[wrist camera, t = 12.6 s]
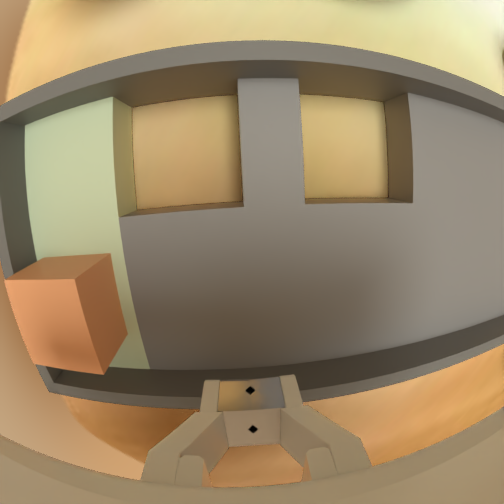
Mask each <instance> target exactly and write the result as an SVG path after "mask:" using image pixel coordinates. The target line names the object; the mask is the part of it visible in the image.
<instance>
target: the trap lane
mask: <svg viewBox="0 0 504 504" xmlns="http://www.w3.org/2000/svg"><path fill="white" fill-rule="evenodd" d="M299 94H309V95H326V96H338V97H349V98H358V99H366V100H373V101H380V102H384V108H385V118H386V131H387V149H388V198H310V199H305V190H304V162H303V141H302V123H301V108H300V95H299ZM222 95H237V98H238V118H239V139H240V158H241V178H242V196H243V201H239V202H223V203H209V204H196V205H184V206H172V207H162V208H151V209H142V210H137V203H136V192H135V180H134V165H133V144H132V107H137V106H143V105H148V104H154V103H160V102H167V101H174V100H182V99H190V98H199V97H210V96H222ZM104 253H111V259H112V265H113V270H114V275H115V281H116V286H117V290H118V295H119V300H120V304H121V309H122V313H123V317H124V321H125V325H126V329H127V333H128V335H127V336H126V338H125V340H124V341H123V343H122V345H121V346H120V348H119V350H118V351H117V353H116V355H115V357H114V358H113V360H112V362H111V363H110V365H109V367H108V369H107V370H106V372H105V374H104V375H102V374H93V373H86V372H78V371H72V370H65V369H59V368H54V367H48V366H43V365H38V364H36V367H37V369H38V371H39V373H40V375H41V377H42V379H43V381H44V383H45V385H46V387H47V389H48V391H49V392H52V393H57V394H61V395H66V396H71V397H76V398H81V399H87V400H93V401H99V402H106V403H114V404H122V405H131V406H142V407H156V408H175V409H200V406H201V399H202V392H203V386H204V382H205V380H221V379H256V378H268V377H279V376H285V375H293V374H294V375H295V377H296V380H297V384H298V388H299V391H300V395H301V398H302V402H309V401H316V400H322V399H328V398H334V397H339V396H344V395H350V394H354V393H359V392H364V391H368V390H372V389H377V388H381V387H385V386H389V385H392V384H396V383H400V382H403V381H407V380H410V379H414V378H417V377H420V376H423V375H426V374H429V373H432V372H435V371H438V370H441V369H444V368H447V367H450V366H452V365H455V364H458V363H460V362H463V361H465V360H468V359H470V358H473V357H475V356H477V355H480V354H482V353H484V352H487V351H489V350H491V349H493V348H495V347H497V346H500V345H502V344H504V97H503V96H501V95H499V94H497V93H495V92H493V91H491V90H489V89H487V88H485V87H483V86H480V85H478V84H476V83H474V82H471V81H469V80H466V79H464V78H461V77H459V76H456V75H454V74H451V73H448V72H446V71H443V70H440V69H437V68H434V67H431V66H428V65H424V64H421V63H418V62H414V61H411V60H407V59H403V58H400V57H396V56H391V55H387V54H383V53H378V52H373V51H368V50H363V49H357V48H351V47H345V46H337V45H330V44H321V43H310V42H296V41H267V40H257V41H227V42H214V43H203V44H194V45H186V46H179V47H172V48H166V49H160V50H155V51H150V52H145V53H140V54H136V55H131V56H127V57H123V58H119V59H116V60H112V61H108V62H105V63H101V64H98V65H95V66H92V67H88V68H85V69H82V70H80V71H77V72H74V73H71V74H68V75H66V76H63V77H60V78H58V79H55V80H53V81H51V82H48V83H46V84H43V85H41V86H39V87H37V88H34V89H32V90H30V91H28V92H26V93H24V94H22V95H20V96H18V97H16V98H14V99H12V100H10V101H8V102H6V103H4V104H3V105H1V106H0V261H1V265H2V269H3V273H4V277H5V279H7V278H8V277H10V276H12V275H13V274H15V273H17V272H19V271H20V270H22V269H24V268H26V267H27V266H29V265H31V264H33V263H35V262H37V261H38V260H40V259H42V258H44V257H58V256H73V255H89V254H104Z"/></svg>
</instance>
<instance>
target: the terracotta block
mask: <svg viewBox="0 0 504 504" xmlns="http://www.w3.org/2000/svg"><path fill="white" fill-rule="evenodd" d="M4 282H5V285H6V289H7V293H8V296H9V299H10V303H11V306H12V309H13V312H14V315H15V318H16V321H17V324H18V327H19V329H20V332H21V334H22V337H23V340H24V342H25V345H26V347H27V350H28V352H29V354H30V357H31V359H32V361H33V363H34V364H38V365H43V366H48V367H54V368H59V369H65V370H72V371H78V372H86V373H93V374H102V375H104V374H105V372H106V370H107V369H108V367H109V365H110V363H111V362H112V360H113V358H114V357H115V355H116V353H117V351H118V350H119V348H120V346H121V345H122V343H123V341H124V340H125V338H126V336H127V335H128V333H127V329H126V325H125V321H124V317H123V313H122V309H121V304H120V300H119V295H118V290H117V286H116V281H115V275H114V270H113V265H112V259H111V253H104V254H89V255H73V256H58V257H44V258H42V259H40V260H38V261H37V262H35V263H33V264H31V265H29V266H27V267H26V268H24V269H22V270H20V271H19V272H17V273H15V274H13V275H12V276H10V277H8V278H7V279H5V280H4Z"/></svg>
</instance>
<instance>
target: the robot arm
mask: <svg viewBox="0 0 504 504" xmlns="http://www.w3.org/2000/svg"><path fill="white" fill-rule="evenodd" d="M271 444H280V445H281V446H282V447H283V448H284V449H285V450H286V451H287V452H288V453H289V454H290V455H291V456H292V457H293V458H294V459H295V460H296V461H297V462H298V463H299V464H300V465H301V466H302V467H303V468H304V469H303V474H302V480H301V482H297V483H289V484H281V485H270V486H257V487H213V485H212V483H211V480H210V477H209V473H210V472H211V471H212V469H213V468H214V467H215V466H216V464H217V463H218V462H219V460H220V459H221V458H222V457H223V455H224V454H225V453H226V451H227V450H228V449H229V447H238V446H252V445H271ZM0 504H504V407H502V408H501V409H499V410H497V411H496V412H494V413H493V414H491V415H489V416H488V417H486V418H484V419H483V420H481V421H479V422H477V423H476V424H474V425H472V426H470V427H468V428H466V429H465V430H463V431H461V432H459V433H457V434H455V435H453V436H451V437H449V438H446V439H444V440H442V441H440V442H438V443H436V444H433V445H431V446H429V447H426V448H424V449H421V450H419V451H416V452H414V453H411V454H409V455H406V456H403V457H400V458H397V459H395V460H392V461H389V462H385V463H382V464H379V465H376V466H372V465H371V462H370V460H369V458H368V455H367V453H366V451H365V448H364V446H363V444H362V442H361V439H360V438H359V437H357V436H355V435H354V434H352V433H350V432H349V431H347V430H345V429H344V428H342V427H341V426H339V425H337V424H336V423H334V422H333V421H331V420H330V419H328V418H326V417H325V416H323V415H322V414H320V413H319V412H317V411H316V410H314V409H313V408H311V407H310V406H308V405H307V406H304V405H303V402H302V398H301V395H300V391H299V388H298V384H297V380H296V377H295V375H294V374H293V375H285V376H279V377H268V378H256V379H221V380H205V382H204V386H203V392H202V399H201V406H200V412H195V413H194V414H192V415H191V416H190V417H189V418H188V419H187V420H185V421H184V422H183V423H182V424H181V425H180V426H178V427H177V428H176V429H175V430H174V431H172V432H171V433H170V434H169V435H168V436H166V437H165V438H164V439H163V440H162V441H160V442H159V443H158V444H157V445H155V446H154V447H153V448H152V449H150V450H149V451H148V455H147V458H146V462H145V466H144V469H143V473H142V477H141V480H134V479H129V478H124V477H119V476H114V475H109V474H105V473H101V472H98V471H94V470H90V469H86V468H83V467H80V466H76V465H73V464H70V463H67V462H64V461H61V460H58V459H55V458H52V457H50V456H46V455H44V454H42V453H39V452H37V451H35V450H32V449H30V448H27V447H25V446H23V445H20V444H18V443H16V442H14V441H12V440H10V439H8V438H6V437H4V436H2V435H0Z"/></svg>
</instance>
